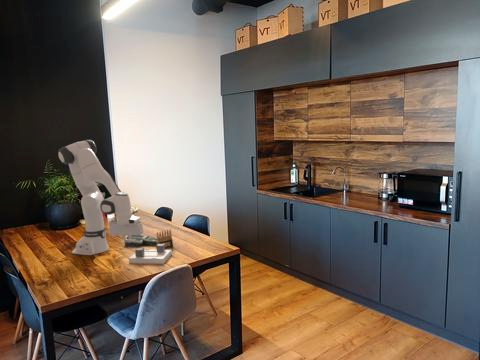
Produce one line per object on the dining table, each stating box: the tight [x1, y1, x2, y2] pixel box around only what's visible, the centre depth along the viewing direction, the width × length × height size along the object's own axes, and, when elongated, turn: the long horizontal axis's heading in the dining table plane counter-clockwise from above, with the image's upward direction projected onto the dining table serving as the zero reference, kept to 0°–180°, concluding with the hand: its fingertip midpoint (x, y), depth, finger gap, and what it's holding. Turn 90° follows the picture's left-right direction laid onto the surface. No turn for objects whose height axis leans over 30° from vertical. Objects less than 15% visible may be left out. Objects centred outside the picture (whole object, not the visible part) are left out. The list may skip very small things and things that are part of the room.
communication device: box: [123, 234, 157, 247], centre depth 252 cm, size 12×24×9 cm, turn 80°
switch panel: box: [128, 248, 173, 265], centre depth 224 cm, size 21×15×3 cm
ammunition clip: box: [156, 229, 174, 250], centre depth 241 cm, size 11×2×12 cm, turn 125°
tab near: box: [134, 247, 145, 257], centre depth 220 cm, size 4×4×4 cm
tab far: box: [155, 244, 166, 252], centre depth 227 cm, size 4×4×4 cm
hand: (127, 242), depth 220 cm, fingers closed
